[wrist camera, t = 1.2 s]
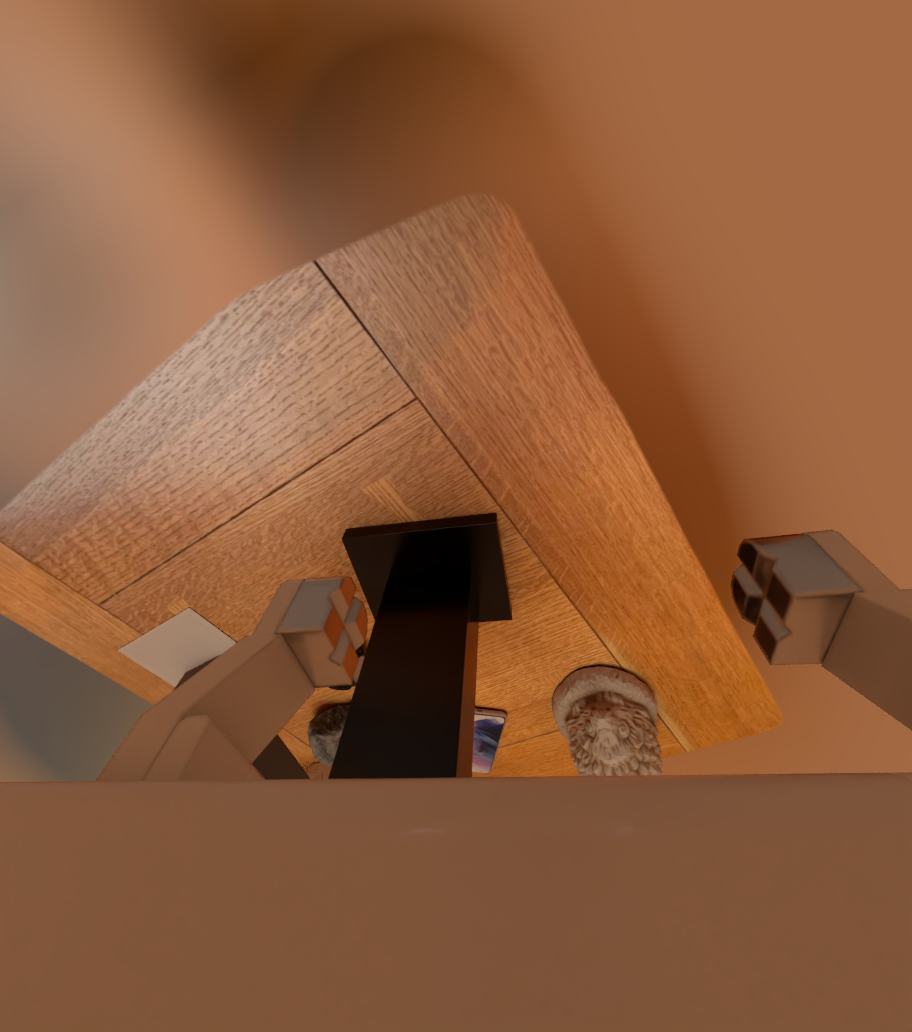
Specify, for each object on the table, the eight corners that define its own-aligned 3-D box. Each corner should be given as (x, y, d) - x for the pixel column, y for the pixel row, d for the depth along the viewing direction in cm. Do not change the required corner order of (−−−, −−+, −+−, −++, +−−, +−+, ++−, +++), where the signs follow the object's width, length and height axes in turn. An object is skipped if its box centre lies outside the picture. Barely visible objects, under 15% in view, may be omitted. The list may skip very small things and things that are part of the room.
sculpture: (649, 657, 47) (681, 750, 39) (659, 740, 56) (687, 830, 48) (539, 671, 50) (548, 761, 42) (565, 748, 59) (576, 835, 51)
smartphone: (507, 716, 54) (490, 774, 63) (507, 710, 55) (490, 768, 64) (451, 710, 54) (441, 769, 63) (451, 704, 55) (441, 763, 63)
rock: (360, 747, 63) (350, 784, 59) (299, 718, 60) (284, 755, 56) (412, 713, 57) (405, 752, 53) (347, 679, 54) (335, 718, 50)
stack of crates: (189, 607, 49) (149, 658, 43) (288, 680, 55) (264, 733, 49) (117, 650, 54) (73, 700, 49) (214, 712, 61) (185, 762, 55)
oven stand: (345, 528, 41) (8, 1233, 13) (496, 512, 38) (495, 1331, 10) (381, 618, 47) (212, 1212, 19) (511, 608, 45) (536, 1269, 17)
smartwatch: (367, 661, 52) (356, 700, 48) (324, 650, 51) (309, 688, 47) (375, 640, 49) (364, 679, 45) (330, 628, 49) (314, 666, 45)
